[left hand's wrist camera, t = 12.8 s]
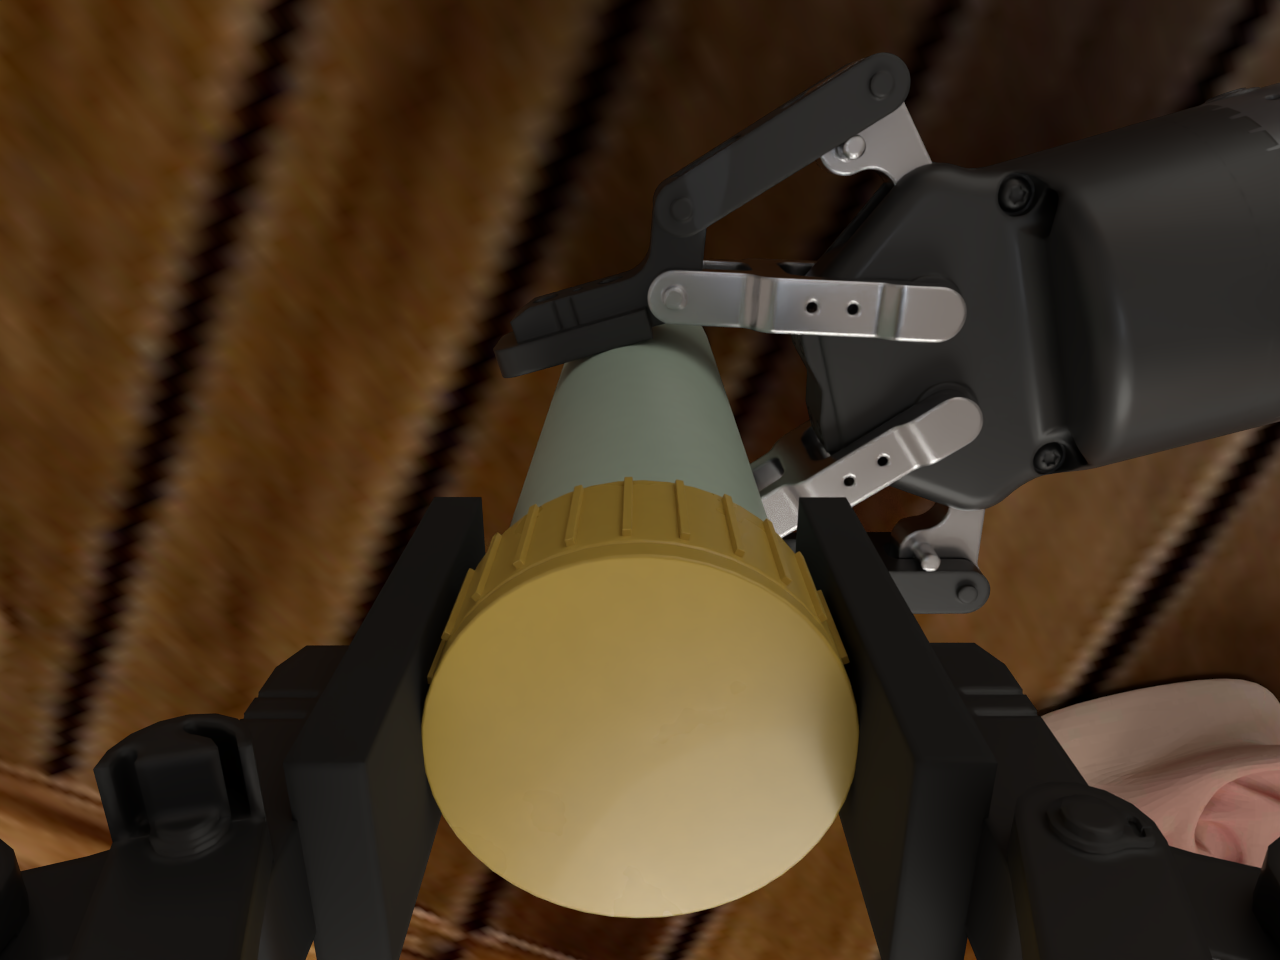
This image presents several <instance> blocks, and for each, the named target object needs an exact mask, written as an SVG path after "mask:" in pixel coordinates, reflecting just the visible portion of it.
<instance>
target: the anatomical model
mask: <svg viewBox="0 0 1280 960" xmlns="http://www.w3.org/2000/svg"><path fill="white" fill-rule="evenodd" d="M1041 717H1042V719H1043V720H1044V722H1045V723H1046V724H1047V726H1048V727H1049V729H1050V730H1051V732H1052V733H1053V735H1054V736H1055V737H1056V739H1057V740H1058V742H1059V743H1060V745H1061V746H1062V748H1063V749H1064V750H1065V752H1066V753H1067V755H1068V756H1069V758H1070V759H1071V761H1072V762H1073V763H1074V765H1075V766H1076V768H1077V769H1078V771H1079V772H1080V774H1081V775H1082V776H1083V778H1084V779H1085V781H1086V782H1087V784H1088V785H1089V786H1092V787H1095V788H1099V789H1103V790H1106V791H1108V792H1110V793H1112V794H1114V795H1116V796H1118V797H1120V798H1122V799H1124V800H1126V801H1128V802H1130V803H1132V804H1133V805H1134V806H1136V807H1137V808H1138V809H1139V810H1141V811H1142V812H1143V813H1144V814H1146V815H1147V816H1148V817H1149V818H1150V819H1152V820H1153V821H1154V822H1155V823H1156V825H1157V826H1158V828H1159V830H1160V831H1161V833H1162V834H1163V836H1164V837H1165V839H1166V840H1167V842H1168V844H1169V846H1172V847H1176V848H1179V849H1183V850H1186V851H1189V852H1193V853H1197V854H1201V855H1206V856H1210V857H1215V858H1219V859H1224V860H1228V861H1232V862H1237V863H1241V864H1246V865H1250V866H1255V867H1259V868H1262V865H1263V861H1264V858H1265V855H1266V852H1267V849H1268V846H1269V845H1270V844H1271V843H1273V842H1274V841H1275V840H1276V839H1278V838H1279V837H1280V703H1279V702H1278V700H1277V699H1276V697H1275V696H1274V695H1273V694H1272V693H1271V692H1270V691H1269V690H1267V689H1266V688H1264V687H1262V686H1261V685H1259V684H1257V683H1253V682H1249V681H1245V680H1240V679H1208V680H1195V681H1187V682H1178V683H1172V684H1166V685H1160V686H1154V687H1148V688H1142V689H1137V690H1132V691H1128V692H1123V693H1119V694H1114V695H1110V696H1105V697H1101V698H1097V699H1093V700H1089V701H1085V702H1082V703H1078V704H1074V705H1071V706H1068V707H1065V708H1062V709H1059V710H1056V711H1053V712H1050V713H1048V714H1045V715H1043V716H1041Z"/></svg>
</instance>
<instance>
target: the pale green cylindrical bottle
mask: <svg viewBox="0 0 1280 960" xmlns="http://www.w3.org/2000/svg"><path fill="white" fill-rule="evenodd" d="M624 477H633V481H636V480H648V481H661V482H671V483H675V480H682V481H684V485H686V486H691V487H695V488H698V489H701V490H704V491H707V492H710V493H713V494H716V495H719V496H721V497H723V495H724V494H727V495H729V496H731V497H732V501H733V503H735V504H737V505H739V506H741V507H743V508H744V509H746V510H747V511H749V512H750V513H752V514H753V515H755V516H757V517H758V518H760V519H761V520H762V521H764V520H765V519H766V518H767V515H766V512H765V509H764V506H763V503H762V500H761V497H760V494H759V491H758V488H757V485H756V482H755V479H754V476H753V473H752V470H751V467H750V464H749V461H748V458H747V455H746V452H745V449H744V446H743V443H742V440H741V437H740V434H739V431H738V428H737V425H736V422H735V419H734V416H733V413H732V410H731V407H730V404H729V401H728V398H727V395H726V392H725V389H724V386H723V383H722V380H721V377H720V374H719V371H718V368H717V365H716V362H715V359H714V356H713V353H712V350H711V347H710V344H709V342H708V339H707V336H706V334H705V332H704V329H703V327H702V326H696V325H673V324H667V323H665V324H662V325H658V326H655V327H653V339H650V340H646V341H643V342H639V343H635V344H632V345H628V346H625V347H621V348H616V349H612V350H609V351H606V352H603V353H599V354H596V355H592V356H589V357H585V358H581V359H578V360H574V361H571V362H567V363H564V366H563V369H562V372H561V375H560V378H559V381H558V384H557V387H556V390H555V393H554V396H553V399H552V402H551V405H550V408H549V411H548V414H547V417H546V420H545V423H544V426H543V429H542V432H541V435H540V438H539V441H538V444H537V447H536V450H535V453H534V456H533V459H532V462H531V465H530V468H529V471H528V474H527V477H526V480H525V483H524V486H523V489H522V492H521V495H520V498H519V501H518V504H517V507H516V510H515V513H514V516H513V519H512V522H511V525H510V527H511V526H512V525H514V524H515V523H516V522H517V521H519V520H520V519H521V518H522V517H523V516H525V515H527V514H528V510H529V507H531V506H532V505H534V504H537V506H538V507H540V506H541V505H543V504H545V503H547V502H549V501H551V500H553V499H556V498H558V497H560V496H562V495H564V494H567V493H569V492H573V491H574V487H575V486H578V485H582V486H583V488H586V487H589V486H593V485H599V484H605V483H611V482H617V481H624ZM767 519H768V518H767Z"/></svg>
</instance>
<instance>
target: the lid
mask: <svg viewBox="0 0 1280 960" xmlns="http://www.w3.org/2000/svg"><path fill="white" fill-rule="evenodd" d="M441 639H442V640H441V643H440V645H439V648H438V651H437V653H436V656H435V658H434V661H433V663H432V666H431V668H430V671H429V673H428V676H427V679H428V684H430V685H429V688H428V691H427V695H426V698H425V702H424V708H423V715H422V721H421V734H422V746H423V755H424V764H425V773H426V776H427V779H428V782H429V785H430V788H431V791H432V794H433V797H434V799H435V801H436V803H437V805H438V807H439V808H440V810H441V812H442V814H443V816H444V818H445V819H446V821H447V822H448V824H449V825H450V827H451V828H452V830H453V831H454V832H455V834H456V835H457V837H458V838H459V839H460V840H461V841H462V842H463V843H464V844H465V846H466V847H467V848H468V849H469V850H470V851H471V852H472V853H473V854H474V855H475V856H476V857H477V858H478V859H479V860H481V861H482V862H483V863H484V864H485V865H486V866H488V867H489V868H490V869H491V870H492V871H494V872H495V873H497V874H498V875H500V876H501V877H503V878H504V879H506V880H507V881H509V882H510V883H512V884H513V885H515V886H517V887H519V888H521V889H523V890H525V891H527V892H529V893H531V894H533V895H535V896H537V897H539V898H542V899H544V900H547V901H550V902H552V903H555V904H557V905H560V906H564V907H568V908H571V909H575V910H579V911H582V912H587V913H593V914H599V915H605V916H612V917H628V918H652V917H667V916H675V915H682V914H689V913H693V912H697V911H701V910H706V909H710V908H714V907H717V906H720V905H722V904H725V903H728V902H731V901H734V900H736V899H739V898H741V897H743V896H745V895H747V894H749V893H752V892H754V891H756V890H758V889H760V888H762V887H763V886H765V885H767V884H768V883H770V882H771V881H773V880H775V879H776V878H778V877H779V876H781V875H783V874H784V873H785V872H786V871H788V870H789V869H790V868H791V867H793V866H794V865H795V864H796V863H798V862H799V861H800V860H801V859H803V857H804V856H805V855H806V854H807V853H808V852H809V851H810V850H811V849H812V848H813V847H814V846H815V845H816V844H817V843H818V842H819V841H820V840H821V838H822V837H823V836H824V834H825V833H826V831H827V830H828V829H829V827H830V826H831V825H832V823H833V822H834V820H835V818H836V817H837V815H838V813H839V811H840V809H841V807H842V806H843V804H844V802H845V800H846V797H847V794H848V792H849V789H850V786H851V784H852V781H853V778H854V774H855V768H856V760H857V751H858V740H859V719H858V710H857V704H856V701H855V697H854V693H853V690H852V686H851V683H850V680H849V677H848V675H847V672H846V670H845V667H844V664H847V663H850V661H849V658H848V656H847V653H846V651H845V648H844V646H843V643H842V641H841V638H840V636H839V633H838V631H837V628H836V626H835V623H834V621H833V618H832V616H831V613H830V611H829V608H828V606H827V603H826V601H825V598H824V596H823V593H822V591H821V590H818V591H817V590H816V587H815V585H814V582H813V580H812V577H811V575H810V572H809V570H808V567H807V564H806V562H805V559H804V557H803V555H802V554H801V552H800V551H799V552H797V553H796V554H795V553H794V552H793V551H792V550H791V548H790V547H789V546H788V545H787V544H786V543H785V541H784V540H783V539H782V538H781V537H780V536H779V535H778V534H777V533H776V532H775V529H774V526H773V524H772V522H771V521H770V520H768V519H767V518H766V519H765V520H764V521H762V520H761V519H760V518H758V517H757V516H755V515H753V514H752V513H750V512H749V511H747V510H746V509H744V508H743V507H741V506H739V505H737V504H735V503H733V501H732V497H731V496H729V495H727V494H724V495H723V497H721V496H719V495H716V494H713V493H710V492H707V491H704V490H701V489H698V488H695V487H691V486H686V485H684V481H682V480H675V483H671V482H661V481H648V480H636V481H633V477H624V481H617V482H611V483H605V484H599V485H593V486H589V487H586V488H583V486H582V485H578V486H575V487H574V491H573V492H569V493H567V494H564V495H562V496H560V497H558V498H556V499H553V500H551V501H549V502H547V503H545V504H543V505H541V506H540V507H538V506H537V504H534V505H532V506H531V507H529V510H528V514H527V515H525V516H523V517H522V518H521V519H520V520H519V521H517V522H516V523H515V524H514V525H512V526H511V527H510V528H509V529H507V530H506V531H505V532H504V533H503V534H502V535H500V534H499V533H496V534H495V535H494V536H493V538H492V540H491V543H490V546H489V549H488V551H487V553H486V554H485V556H484V557H483V558H482V560H481V561H480V563H479V564H478V566H477V567H476V569H475V570H473V569H471V568H470V569H469V570H468V572H467V574H466V576H465V579H464V581H463V584H462V586H461V589H460V591H459V594H458V596H457V599H456V601H455V604H454V606H453V609H452V611H451V614H450V616H449V619H448V621H447V624H446V627H445V629H444V632H443V634H442V637H441Z"/></svg>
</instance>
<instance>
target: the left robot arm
mask: <svg viewBox="0 0 1280 960" xmlns="http://www.w3.org/2000/svg"><path fill="white" fill-rule="evenodd" d="M799 551H800V552H801V554H802V555H803V557H804V559H805V562H806V564H807V567H808V570H809V572H810V575H811V577H812V580H813V582H814V585H815V587H816V590H817V591H818V590H821V591H822V593H823V596H824V598H825V601H826V603H827V606H828V608H829V611H830V613H831V616H832V618H833V621H834V623H835V626H836V628H837V631H838V633H839V636H840V638H841V641H842V643H843V646H844V648H845V651H846V653H847V656H848V658H849V661H850V663H847V664H844V667H845V670H846V672H847V675H848V677H849V680H850V683H851V686H852V690H853V693H854V697H855V701H856V704H857V710H858V719H859V740H858V751H857V760H856V768H855V774H854V778H853V781H852V784H851V786H850V789H849V792H848V794H847V797H846V800H845V802H844V804H843V806H842V807H841V809H840V811H839V816H840V819H841V823H842V826H843V830H844V833H845V836H846V840H847V843H848V847H849V850H850V853H851V857H852V860H853V864H854V867H855V870H856V874H857V877H858V881H859V884H860V887H861V891H862V894H863V898H864V901H865V904H866V908H867V911H868V915H869V918H870V921H871V925H872V928H873V932H874V935H875V939H876V942H877V945H878V949H879V952H880V956H881V959H882V960H964V955H965V949H966V943H967V937H968V939H969V941H970V944H971V946H972V949H973V951H974V954H975V956H976V959H977V960H1280V837H1279V838H1278V839H1276V840H1275V841H1274V842H1273V843H1271V844H1270V845H1269V846H1268V849H1267V852H1266V855H1265V858H1264V861H1263V865H1262V868H1259V867H1255V866H1250V865H1246V864H1241V863H1237V862H1232V861H1228V860H1224V859H1219V858H1215V857H1210V856H1206V855H1201V854H1197V853H1193V852H1189V851H1186V850H1183V849H1179V848H1176V847H1172V846H1169V844H1168V842H1167V840H1166V839H1165V837H1164V836H1163V834H1162V833H1161V831H1160V830H1159V828H1158V826H1157V825H1156V823H1155V822H1154V821H1153V820H1152V819H1150V818H1149V817H1148V816H1147V815H1146V814H1144V813H1143V812H1142V811H1141V810H1139V809H1138V808H1137V807H1136V806H1134V805H1133V804H1132V803H1130V802H1128V801H1126V800H1124V799H1122V798H1120V797H1118V796H1116V795H1114V794H1112V793H1110V792H1108V791H1106V790H1103V789H1099V788H1095V787H1092V786H1089V785H1088V784H1087V782H1086V781H1085V779H1084V778H1083V776H1082V775H1081V774H1080V772H1079V771H1078V769H1077V768H1076V766H1075V765H1074V763H1073V762H1072V761H1071V759H1070V758H1069V756H1068V755H1067V753H1066V752H1065V750H1064V749H1063V748H1062V746H1061V745H1060V743H1059V742H1058V740H1057V739H1056V737H1055V736H1054V735H1053V733H1052V732H1051V730H1050V729H1049V727H1048V726H1047V724H1046V723H1045V722H1044V720H1043V719H1042V717H1041V716H1037V710H1036V709H1035V707H1034V706H1033V704H1032V703H1031V701H1030V700H1029V698H1028V697H1027V696H1026V695H1023V693H1022V688H1021V687H1020V685H1019V684H1018V683H1017V681H1016V680H1015V678H1014V677H1013V675H1012V674H1011V672H1010V671H1009V670H1008V668H1007V667H1006V665H1005V664H1004V663H1002V662H1001V661H999V660H998V659H996V658H995V657H994V656H992V655H991V654H989V653H988V652H987V651H985V650H984V649H982V648H981V647H979V646H978V645H977V644H975V643H929V641H928V640H927V638H926V636H925V634H924V633H923V631H922V629H921V627H920V626H919V624H918V622H917V620H916V619H915V617H914V615H913V613H912V612H911V610H910V608H909V606H908V605H907V603H906V601H905V599H904V598H903V596H902V594H901V592H900V591H899V589H898V587H897V585H896V584H895V582H894V580H893V578H892V577H891V575H890V573H889V571H888V570H887V568H886V566H885V564H884V563H883V561H882V559H881V557H880V556H879V554H878V552H877V550H876V549H875V547H874V545H873V543H872V542H871V540H870V538H869V536H868V535H867V533H866V531H865V529H864V528H863V526H862V524H861V523H860V521H859V519H858V517H857V516H856V514H855V512H854V510H853V509H852V507H851V505H850V503H849V502H848V500H847V498H846V497H799V506H798V521H797V535H796V550H795V554H796V553H797V552H799ZM484 556H485V543H484V528H483V513H482V499H481V497H434V499H433V501H432V502H431V504H430V506H429V508H428V509H427V511H426V513H425V515H424V516H423V518H422V520H421V522H420V523H419V525H418V527H417V529H416V530H415V532H414V534H413V536H412V537H411V539H410V541H409V543H408V544H407V546H406V548H405V550H404V551H403V553H402V555H401V557H400V558H399V560H398V562H397V564H396V565H395V567H394V569H393V571H392V572H391V574H390V576H389V578H388V579H387V581H386V583H385V585H384V586H383V588H382V590H381V592H380V593H379V595H378V597H377V599H376V600H375V602H374V604H373V606H372V607H371V609H370V611H369V613H368V614H367V616H366V618H365V620H364V621H363V623H362V625H361V627H360V628H359V630H358V632H357V634H356V635H355V637H354V639H353V641H352V642H351V644H350V646H305V647H304V648H303V649H301V650H300V651H298V652H297V653H295V654H294V655H293V656H291V657H290V658H288V659H287V660H286V661H284V662H283V663H281V664H280V665H279V666H277V667H276V668H275V669H274V671H273V672H272V674H271V675H270V677H269V678H268V680H267V681H266V683H265V684H264V685H263V687H262V688H261V690H260V691H259V696H258V698H255V699H254V700H253V701H252V703H251V704H250V706H249V707H248V709H247V710H246V712H245V713H244V719H240V720H238V719H236V718H232V717H228V716H224V715H220V714H189V715H185V716H180V717H176V718H172V719H168V720H164V721H160V722H157V723H155V724H153V725H150V726H148V727H146V728H144V729H141V730H139V731H137V732H134V733H132V734H130V735H129V736H127V737H126V738H125V739H123V740H122V741H120V742H119V743H118V744H116V745H115V746H113V747H112V748H111V749H109V750H108V751H107V752H106V753H105V755H104V756H103V757H102V759H101V760H100V761H99V762H98V764H97V765H96V766H95V768H94V769H93V770H94V774H95V778H96V781H97V785H98V789H99V793H100V796H101V800H102V804H103V808H104V811H105V815H106V819H107V823H108V826H109V830H110V834H111V838H112V841H113V843H112V846H111V848H110V850H107V851H104V852H100V853H97V854H94V855H90V856H87V857H82V858H78V859H73V860H69V861H64V862H60V863H56V864H51V865H47V866H42V867H38V868H33V869H29V870H25V871H20V869H19V865H18V862H17V859H16V856H15V853H14V850H13V849H12V848H11V847H10V846H8V845H7V844H6V843H5V842H4V841H2V840H1V839H0V960H305V959H306V957H307V954H308V952H309V950H310V947H311V945H312V942H313V940H314V946H315V952H316V957H317V960H399V957H400V954H401V950H402V947H403V944H404V940H405V937H406V933H407V930H408V927H409V923H410V920H411V916H412V913H413V910H414V906H415V903H416V899H417V896H418V893H419V889H420V886H421V882H422V879H423V875H424V872H425V869H426V865H427V862H428V858H429V855H430V852H431V848H432V845H433V841H434V838H435V835H436V831H437V828H438V824H439V821H440V818H441V814H442V812H441V810H440V808H439V807H438V805H437V803H436V801H435V799H434V797H433V794H432V791H431V788H430V785H429V782H428V779H427V776H426V773H425V764H424V755H423V746H422V734H421V721H422V715H423V708H424V702H425V698H426V695H427V691H428V688H429V685H430V684H428V679H427V676H428V673H429V671H430V668H431V666H432V663H433V661H434V658H435V656H436V653H437V651H438V648H439V645H440V643H441V640H442V639H441V637H442V634H443V632H444V629H445V627H446V624H447V621H448V619H449V616H450V614H451V611H452V609H453V606H454V604H455V601H456V599H457V596H458V594H459V591H460V589H461V586H462V584H463V581H464V579H465V576H466V574H467V572H468V570H469V569H470V568H471V569H473V570H475V569H476V567H477V566H478V564H479V563H480V561H481V560H482V558H483V557H484Z"/></svg>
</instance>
